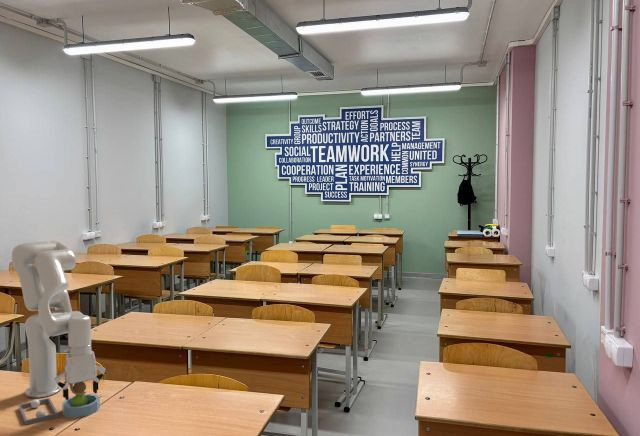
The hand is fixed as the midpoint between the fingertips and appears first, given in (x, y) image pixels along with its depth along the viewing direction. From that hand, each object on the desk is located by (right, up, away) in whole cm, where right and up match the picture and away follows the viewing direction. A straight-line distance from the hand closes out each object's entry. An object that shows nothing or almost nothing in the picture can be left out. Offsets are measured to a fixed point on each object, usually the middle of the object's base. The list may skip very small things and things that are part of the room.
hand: (81, 395), depth 186 cm
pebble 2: (-11, -6, -6) cm, 14 cm away
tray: (-15, -6, -2) cm, 16 cm away
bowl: (0, -6, 0) cm, 6 cm away
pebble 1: (-18, -5, +2) cm, 19 cm away
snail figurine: (-1, -5, 0) cm, 5 cm away
